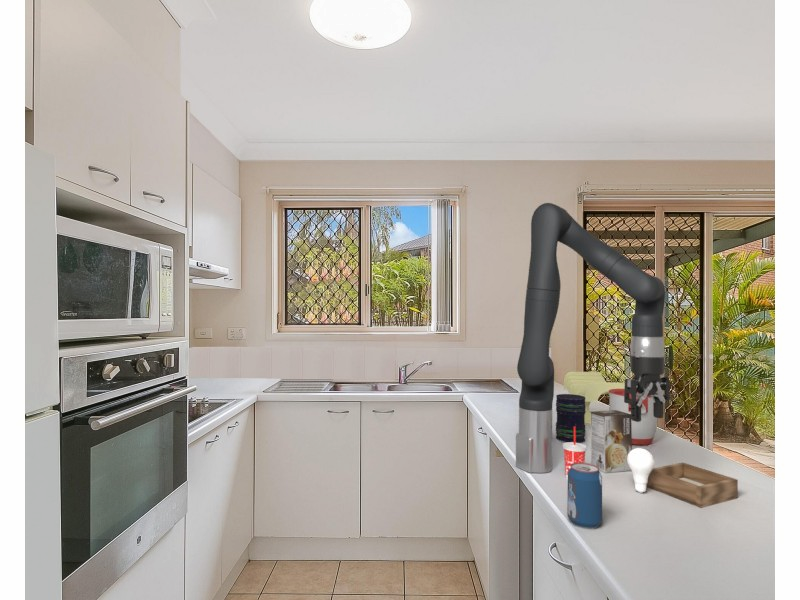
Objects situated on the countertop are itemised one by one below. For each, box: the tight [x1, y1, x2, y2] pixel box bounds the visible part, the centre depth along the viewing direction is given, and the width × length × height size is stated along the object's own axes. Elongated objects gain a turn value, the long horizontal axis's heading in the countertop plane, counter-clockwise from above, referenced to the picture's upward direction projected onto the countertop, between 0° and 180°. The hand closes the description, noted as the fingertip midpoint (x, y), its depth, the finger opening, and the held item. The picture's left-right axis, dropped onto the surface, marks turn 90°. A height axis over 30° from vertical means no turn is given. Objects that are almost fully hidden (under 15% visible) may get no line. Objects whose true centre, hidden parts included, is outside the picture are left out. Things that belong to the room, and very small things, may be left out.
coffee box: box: [590, 410, 633, 474], centre depth 138 cm, size 9×6×16 cm
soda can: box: [566, 462, 603, 530], centre depth 103 cm, size 7×7×12 cm
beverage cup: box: [562, 426, 587, 481], centre depth 129 cm, size 6×6×14 cm
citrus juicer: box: [608, 389, 658, 446], centre depth 166 cm, size 16×17×20 cm
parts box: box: [646, 462, 739, 508], centre depth 121 cm, size 14×14×4 cm
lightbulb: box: [627, 447, 655, 494], centre depth 120 cm, size 6×6×11 cm
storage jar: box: [555, 393, 586, 444], centre depth 168 cm, size 10×10×15 cm
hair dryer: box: [563, 371, 625, 425], centre depth 198 cm, size 30×16×18 cm, turn 176°
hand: (647, 419), depth 120 cm, fingers open, 8 cm apart
